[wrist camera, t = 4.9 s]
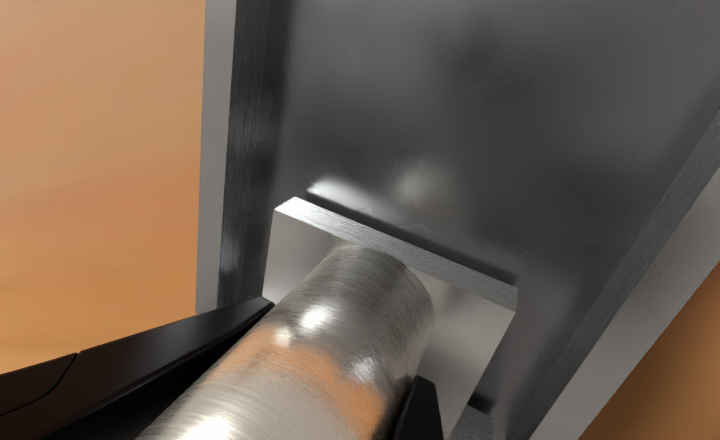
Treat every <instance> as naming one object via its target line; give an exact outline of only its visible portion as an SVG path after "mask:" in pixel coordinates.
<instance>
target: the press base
mask: <svg viewBox="0 0 720 440" xmlns="http://www.w3.org/2000/svg"><path fill="white" fill-rule="evenodd" d="M294 197H297V198H300V199H302V200H304V201H307V202H309V203H312V204H314V205H317V206H319V207H321V208H324V209H326V210H329V211H331V212H334V213H336V214H338V215H341V216H343V217H346V218H348V219H351V220H353V221H356V222H358V223H360V224H363V225H365V226H368V227H370V228H373V229H375V230H377V231H380V232H382V233H385V234H387V235H390V236H392V237H395V238H397V239H399V240H402V241H404V242H407V243H409V244H412V245H414V246H416V247H419V248H421V249H424V250H426V251H429V252H431V253H433V254H436V255H438V256H441V257H443V258H446V259H448V260H451V261H453V262H455V263H458V264H460V265H463V266H465V267H468V268H470V269H472V270H475V271H477V272H480V273H482V274H485V275H487V276H489V277H492V278H494V279H497V280H499V281H502V282H504V283H507V284H509V285H511V286H514V287H516V288H518V293H517V304H516V313H515V315H514V317H513V319H512V320H511V322H510V324H509V326H508V328H507V330H506V332H505V333H504V335H503V337H502V339H501V341H500V343H499V345H498V346H497V348H496V350H495V352H494V354H493V356H492V358H491V359H490V361H489V363H488V365H487V367H486V369H485V371H484V372H483V374H482V376H481V378H480V380H479V382H478V384H477V385H476V387H475V389H474V391H473V393H472V395H471V397H470V399H469V400H468V402H467V405H469V406H471V407H473V408H475V409H477V410H479V411H481V412H483V413H485V414H487V415H489V416H491V417H493V418H495V421H494V429H493V438H492V440H578V438H579V437H580V436H581V435H582V433H583V432H584V431H585V430H586V428H587V427H588V426H589V424H590V423H591V422H592V421H593V419H594V418H595V417H596V416H597V414H598V413H599V412H600V411H601V409H602V408H603V407H604V406H605V404H606V403H607V402H608V401H609V399H610V398H611V397H612V396H613V394H614V393H615V392H616V390H617V389H618V388H619V387H620V385H621V384H622V383H623V382H624V380H625V379H626V378H627V377H628V375H629V374H630V373H631V372H632V370H633V369H634V368H635V367H636V365H637V364H638V363H639V362H640V360H641V359H642V358H643V356H644V355H645V354H646V353H647V351H648V350H649V349H650V348H651V346H652V345H653V344H654V343H655V341H656V340H657V339H658V338H659V336H660V335H661V334H662V333H663V331H664V330H665V329H666V327H667V326H668V325H669V324H670V322H671V321H672V320H673V319H674V317H675V316H676V315H677V314H678V312H679V311H680V310H681V309H682V307H683V306H684V305H685V304H686V302H687V301H688V300H689V299H690V297H691V296H692V295H693V293H694V292H695V291H696V290H697V288H698V287H699V286H700V285H701V283H702V282H703V281H704V280H705V278H706V277H707V276H708V275H709V273H710V272H711V271H712V270H713V268H714V267H715V266H716V265H717V263H718V262H719V261H720V0H206V9H205V39H204V69H203V100H202V130H201V161H200V191H199V221H198V252H197V282H196V313H198V314H202V313H205V312H208V311H211V310H215V309H218V308H221V307H224V306H227V305H231V304H234V303H237V302H240V301H244V300H247V299H248V298H249V297H250V296H253V297H257V296H261V297H262V293H263V286H264V278H265V271H266V263H267V256H268V249H269V241H270V234H271V226H272V219H273V211H274V209H275V208H277V207H278V206H280V205H282V204H284V203H285V202H287V201H289V200H290V199H292V198H294Z"/></svg>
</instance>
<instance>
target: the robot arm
mask: <svg viewBox="0 0 720 440" xmlns="http://www.w3.org/2000/svg"><path fill="white" fill-rule="evenodd" d="M274 306H275V303H274V302H272V301H270V300H268V299H266V298H264V297H261V296H257V297H253V298H250V299H247V300H244V301H240V302H237V303H234V304H231V305H227V306H224V307H221V308H218V309H215V310H211V311H208V312H205V313H202V314H198V315H195V316H192V317H189V318H185V319H182V320H179V321H176V322H173V323H169V324H166V325H163V326H160V327H156V328H153V329H150V330H147V331H143V332H140V333H137V334H134V335H131V336H127V337H124V338H121V339H118V340H114V341H111V342H108V343H105V344H102V345H98V346H95V347H92V348H89V349H85V350H82V351H80V353H79V354H78V353H72V354H69V355H66V356H62V357H59V358H56V359H53V360H49V361H46V362H42V363H39V364H36V365H32V366H29V367H25V368H22V369H18V370H15V371H11V372H7V373H3V374H0V440H134V439H135V438H136V437H137V436H139V435H140V434H141V433H142V432H143V431H144V430H145V429H146V428H147V427H148V426H149V425H150V424H151V423H152V422H153V421H154V420H155V419H156V418H157V417H159V416H160V415H161V414H162V413H163V412H164V411H165V410H166V409H167V408H168V407H169V406H170V405H171V404H172V403H173V402H174V401H175V400H176V399H177V398H179V397H180V396H181V395H182V394H183V393H184V392H185V391H186V390H187V389H188V388H189V387H190V386H191V385H192V384H193V383H194V382H195V381H196V380H197V379H199V378H200V377H201V376H202V375H203V374H204V373H205V372H206V371H207V370H208V369H209V368H210V367H211V366H212V365H213V364H214V363H215V362H216V361H217V360H219V359H220V358H221V357H222V356H223V355H224V354H225V353H226V352H227V351H228V350H229V349H230V348H231V347H232V346H233V345H234V344H235V343H236V342H238V341H239V340H240V339H241V338H242V337H243V336H244V335H245V334H246V333H247V332H248V331H249V330H250V329H251V328H252V327H253V326H254V325H255V324H256V323H258V322H259V321H260V320H261V319H262V318H263V317H264V316H265V315H266V314H267V313H268V312H269V311H270V310H271V309H272V308H273V307H274ZM390 440H444V436H443V430H442V423H441V416H440V410H439V403H438V397H437V390H436V386H435V384H434V383H433V382H432V381H430V380H428V379H426V378H424V377H422V376H420V375H416V376H415V377H414V379H413V381H412V383H411V386H410V389H409V391H408V394H407V396H406V399H405V401H404V404H403V407H402V409H401V412H400V414H399V417H398V419H397V422H396V425H395V427H394V430H393V432H392V435H391V438H390Z"/></svg>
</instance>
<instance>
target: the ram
mask: <svg viewBox="0 0 720 440" xmlns="http://www.w3.org/2000/svg"><path fill="white" fill-rule="evenodd" d="M517 293H518V288H516V287H514V286H511V285H509V284H507V283H504V282H502V281H499V280H497V279H494V278H492V277H489V276H487V275H485V274H482V273H480V272H477V271H475V270H472V269H470V268H468V267H465V266H463V265H460V264H458V263H455V262H453V261H451V260H448V259H446V258H443V257H441V256H438V255H436V254H433V253H431V252H429V251H426V250H424V249H421V248H419V247H416V246H414V245H412V244H409V243H407V242H404V241H402V240H399V239H397V238H395V237H392V236H390V235H387V234H385V233H382V232H380V231H377V230H375V229H373V228H370V227H368V226H365V225H363V224H360V223H358V222H356V221H353V220H351V219H348V218H346V217H343V216H341V215H338V214H336V213H334V212H331V211H329V210H326V209H324V208H321V207H319V206H317V205H314V204H312V203H309V202H307V201H304V200H302V199H300V198H297V197H294V198H292V199H290V200H289V201H287V202H285V203H284V204H282V205H280V206H278V207H277V208H275V209H274V211H273V219H272V226H271V234H270V241H269V249H268V256H267V263H266V271H265V278H264V286H263V293H262V297H264V298H266V299H268V300H270V301H272V302H274V303H275V306H274V307H273V308H272V309H271V310H270V311H269V312H268V313H267V314H266V315H265V316H264V317H263V318H262V319H261V320H260V321H259V322H258V323H256V324H255V325H254V326H253V327H252V328H251V329H250V330H249V331H248V332H247V333H246V334H245V335H244V336H243V337H242V338H241V339H240V340H239V341H238V342H236V343H235V344H234V345H233V346H232V347H231V348H230V349H229V350H228V351H227V352H226V353H225V354H224V355H223V356H222V357H221V358H220V359H219V360H217V361H216V362H215V363H214V364H213V365H212V366H211V367H210V368H209V369H208V370H207V371H206V372H205V373H204V374H203V375H202V376H201V377H200V378H199V379H197V380H196V381H195V382H194V383H193V384H192V385H191V386H190V387H189V388H188V389H187V390H186V391H185V392H184V393H183V394H182V395H181V396H180V397H179V398H177V399H176V400H175V401H174V402H173V403H172V404H171V405H170V406H169V407H168V408H167V409H166V410H165V411H164V412H163V413H162V414H161V415H160V416H159V417H157V418H156V419H155V420H154V421H153V422H152V423H151V424H150V425H149V426H148V427H147V428H146V429H145V430H144V431H143V432H142V433H141V434H140V435H139V436H137V437H136V438H135V439H134V440H390V438H391V435H392V432H393V430H394V427H395V425H396V422H397V419H398V417H399V414H400V412H401V409H402V407H403V404H404V401H405V399H406V396H407V394H408V391H409V389H410V386H411V383H412V381H413V379H414V377H415V376H416V375H420V376H422V377H424V378H426V379H428V380H430V381H432V382H433V383H434V384H435V386H436V390H437V397H438V403H439V410H440V416H441V423H442V430H443V436H444V440H492V438H493V429H494V421H495V418H493V417H491V416H489V415H487V414H485V413H483V412H481V411H479V410H477V409H475V408H473V407H471V406H469V405H467V402H468V400H469V399H470V397H471V395H472V393H473V391H474V389H475V387H476V385H477V384H478V382H479V380H480V378H481V376H482V374H483V372H484V371H485V369H486V367H487V365H488V363H489V361H490V359H491V358H492V356H493V354H494V352H495V350H496V348H497V346H498V345H499V343H500V341H501V339H502V337H503V335H504V333H505V332H506V330H507V328H508V326H509V324H510V322H511V320H512V319H513V317H514V315H515V313H516V304H517ZM250 298H253V296H250V297H249V298H248V299H250Z"/></svg>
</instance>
